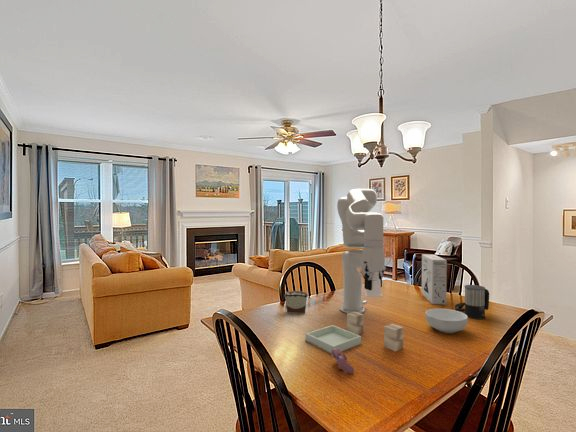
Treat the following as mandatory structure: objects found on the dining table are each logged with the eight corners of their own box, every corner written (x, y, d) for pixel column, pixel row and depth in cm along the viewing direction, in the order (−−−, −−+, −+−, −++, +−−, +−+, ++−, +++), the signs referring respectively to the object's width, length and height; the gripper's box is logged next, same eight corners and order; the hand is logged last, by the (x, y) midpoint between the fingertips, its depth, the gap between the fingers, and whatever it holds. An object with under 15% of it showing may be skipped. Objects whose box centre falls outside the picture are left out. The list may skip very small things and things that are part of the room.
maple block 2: (391, 343, 126) (391, 323, 126) (403, 348, 122) (403, 327, 122) (384, 347, 123) (384, 326, 123) (395, 351, 119) (395, 330, 119)
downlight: (384, 293, 132) (383, 269, 132) (383, 298, 125) (382, 273, 125) (364, 292, 135) (363, 269, 134) (362, 297, 128) (361, 272, 128)
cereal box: (421, 294, 200) (421, 254, 199) (434, 294, 199) (434, 254, 198) (432, 304, 178) (432, 259, 178) (446, 304, 177) (446, 259, 177)
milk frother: (481, 321, 152) (481, 290, 151) (447, 312, 164) (447, 284, 163) (491, 314, 161) (491, 285, 161) (458, 307, 173) (458, 280, 173)
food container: (308, 309, 169) (308, 290, 168) (308, 313, 163) (308, 294, 162) (285, 309, 170) (285, 290, 170) (284, 312, 164) (284, 293, 164)
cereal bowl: (434, 320, 153) (434, 305, 152) (472, 329, 141) (473, 313, 141) (419, 329, 141) (419, 313, 140) (460, 340, 129) (460, 323, 129)
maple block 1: (354, 329, 141) (354, 311, 141) (363, 332, 137) (363, 314, 137) (346, 332, 138) (346, 313, 138) (355, 335, 134) (355, 316, 134)
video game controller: (335, 364, 112) (327, 347, 112) (347, 358, 112) (338, 341, 112) (343, 379, 102) (334, 361, 102) (356, 373, 103) (346, 354, 102)
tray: (332, 331, 138) (332, 324, 138) (361, 343, 126) (361, 336, 126) (305, 340, 129) (305, 333, 129) (333, 354, 116) (333, 346, 116)
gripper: (378, 241, 138) (378, 283, 138) (352, 244, 127) (352, 289, 128) (394, 243, 132) (393, 286, 132) (367, 246, 121) (367, 293, 122)
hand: (373, 287), depth 130 cm, fingers closed on downlight, 5 cm apart
